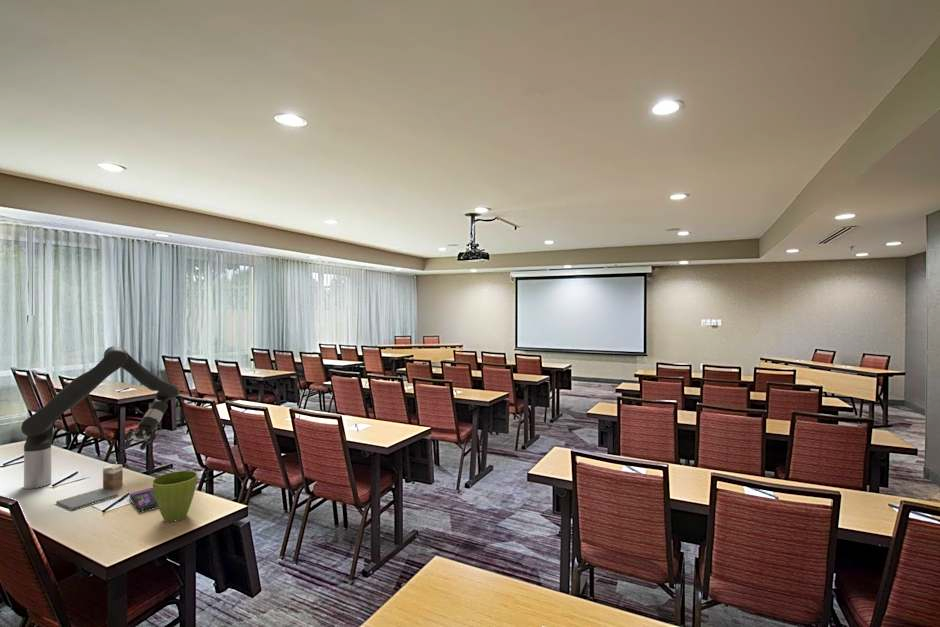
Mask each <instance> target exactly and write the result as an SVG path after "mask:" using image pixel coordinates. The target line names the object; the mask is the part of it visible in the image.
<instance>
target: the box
mask: <svg viewBox="0 0 940 627" xmlns="http://www.w3.org/2000/svg"><path fill="white" fill-rule="evenodd" d="M130 499H131V500H132V502H133V503H134V504H133V503H132V502H131V503H132V504H133V505H135V506H136V507H135V506H134V507H135V508H136V510H137V509H138V510H139V511H138V510H137V511H138V512H139V513H140V512H141V513H143V512H142V511H144V512H147V511H146V510H148V511H150V510H149V509H152V508H156V507H158V505H157V502H156V498H155V494H154V489H153V487H150V488H147V489H143V490H138V491H134V492H131V493H129V500H130ZM131 500H130V501H131ZM156 509H157V508H156ZM152 510H153V509H152Z"/></svg>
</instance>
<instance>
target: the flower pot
mask: <svg viewBox="0 0 940 627" xmlns="http://www.w3.org/2000/svg"><path fill="white" fill-rule="evenodd" d="M198 475H199V474H198V472H196V471H192V470H178V471H173V472H169V473H165V474H162V475H159V476H157V477H155V478H154V479H153V480H152V488H153V489H154V494H155V498H156V502H157V505H158V508H157V509H158V510H159V512H160V515H161V517H162V518H163V520H165V521H164V522H166V521H174V522H176V521H175V520H178V521H180V520H179V519H181V520H183V519H184V517H185V518H186V517H187V516H188V512H189V510H190V507H191V504H192V501H193V499H194V495H195V491H196V487H197V482H198V481H197V480H198ZM182 518H183V519H182Z"/></svg>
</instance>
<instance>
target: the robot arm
mask: <svg viewBox="0 0 940 627" xmlns="http://www.w3.org/2000/svg"><path fill="white" fill-rule="evenodd" d="M119 369H123V370H125V372H127V373H128V374H129V375H130V376H132V378H134V379H135V380H136V381H137V382H139V383H140V384H141V385H142V386H144V387H145V388H147V389H148V390H150V391H152V392H153V391H156V394H155V396H154V399H153V402H152V404H151V405H150V406H149V408H148V410H147V411H146V412H145V413H144V415H143V417H142V418H141V420H140V422H139V423H138V427H137V428H136V429H133V428H130V429H129V430H128V431H127V433H126V434H125V435H124V438H123V440H124V441H125V442H124V444H123V445H122V448H123V449H124V450H128V449H129V447H130V445H131V444H132V442H135V441H136V440H138V439H139V440H140V439H143V441H142V444H141V445H140V446H139V450H141V451H144V450H145V449H146V448H147V446H148V445H149V443H154V442H155V440H156V438H157V436H158V434H159V431H158V430H157V429H156V428H157V427H158V425H159V424H160V422H161V421H162V419H163V415H165V412H166V411H167V409H168V408H169V405H168V403H167V402H168V401H169V400H172V399H173V400H174V399H175V398H177V397H178V396H179V393H180V391H179V389H178V387H177V386H176V385H174V384H173V383H170V382H169V381H166V380H163V379H161V378H160V377H159V376H158V375H156V374H155V373H153V372H152V371H151V370H148V369H147V368H146V367H145V366H143V365H142V364H141V363H139V362H138V361H137V360H136V359H134V357H132V356H131V355H130V354H129V352H127V350H126V349H125V348H124V347H122V346H118V345H113V346H109V347H108V348H106V349H105V351H104V353H103V358H102V359H101V360H100V361H99V362H98V363H97V364H96V365H95V366H94V367H93V368H92V369H90V370H88V371H87V372H84V373H83V374H80V375H79V376H77V377H75V378H74V379H72V380H71V381H70V382H69V383H68V384H67V385H66V386H64V388H62V389H60V391H58V393H57V394H56V395H54V397H52V399H51V400H50V401H49V402H47V404H45V406H42V408H40V409H39V410H37V411H36V412H35V413H34V414H31V416H29V417H27V418H25V420H24V421H23V422H22V424H21V427H20V430H21V433H22V434H23V435H25V436H26V441H25V443H24V445H23V489H25V490H33V489H38V488H39V487H40V488H43V486H44V487H46V485H47V486H49V485H51V484H50V483H52V442H53V439H54V422H55V421H56V420H57V419H58V418H59V417H60V416H61V415H63V413H66V411H68V410H70V409H72V408H73V407H75V406H76V405H77V404H79V403H80V402H81V401H83V400H84V399H85V398H86V397H87V396H88V395H90V394H91V393H92V392H93V391H94V390H95V389H96V388H97V387H98V386H100V385H101V384H102V382H103V381H104V380H106V379H107V378H108V377H110V376H111V375H112V374H114V373H115V372H116V371H118V370H119ZM48 484H49V485H48Z"/></svg>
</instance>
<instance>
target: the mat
mask: <svg viewBox="0 0 940 627" xmlns="http://www.w3.org/2000/svg"><path fill="white" fill-rule="evenodd" d="M115 496H117V497H118V493H116V492H113V491H111V490H105V489H103V487H101V488H97V489H93V490H91V491H87V492H84V493H80V494H77V495H74V496H70V497H67V498H63V499H60V500H56V501H55V503H56V505H58V504H59V506H60V505H61V506H60V507H63V508H65V507H66V508H65V509H67V508H68V510H70V509H71V510H70V511H74V509H76V510H78V509H77V508H79V509H81V508H80V507H82V508H84V507H83V506H85V507H87V506H86V505H88V506H90V505H89V504H92V503H95V502H98V501H101V502H103V501H102V500H104V501H106V500H105V499H108V498H111V499H113V498H112V497H114V498H116V497H115ZM108 500H109V499H108ZM98 503H99V502H98ZM95 504H96V503H95ZM92 505H93V504H92Z"/></svg>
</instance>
